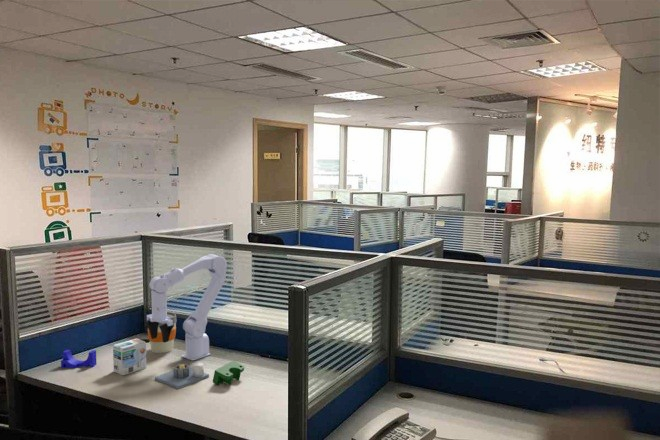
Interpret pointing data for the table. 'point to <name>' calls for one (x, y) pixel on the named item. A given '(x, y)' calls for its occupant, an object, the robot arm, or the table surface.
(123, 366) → the light bulb box
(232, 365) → the clamp
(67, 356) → the cable clip
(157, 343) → the reusable coffee cup
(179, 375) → the ring
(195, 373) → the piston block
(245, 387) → the table surface
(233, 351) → the table surface
